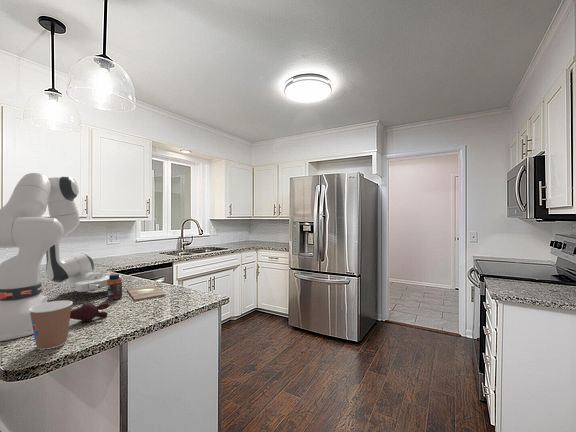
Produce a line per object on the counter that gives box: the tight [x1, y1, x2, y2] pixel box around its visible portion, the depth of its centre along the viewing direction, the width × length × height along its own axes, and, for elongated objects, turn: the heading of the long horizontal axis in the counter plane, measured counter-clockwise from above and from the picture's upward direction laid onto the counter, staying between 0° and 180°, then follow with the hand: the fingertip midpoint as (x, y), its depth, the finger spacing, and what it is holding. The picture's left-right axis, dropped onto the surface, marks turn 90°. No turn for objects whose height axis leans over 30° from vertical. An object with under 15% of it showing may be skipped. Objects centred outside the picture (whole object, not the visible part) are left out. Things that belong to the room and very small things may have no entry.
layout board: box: [126, 284, 166, 302], centre depth 141 cm, size 22×13×1 cm, turn 38°
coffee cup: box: [29, 299, 74, 351], centre depth 86 cm, size 10×10×12 cm
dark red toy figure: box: [70, 302, 110, 324], centre depth 105 cm, size 7×7×15 cm
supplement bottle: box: [106, 273, 123, 301], centre depth 133 cm, size 6×6×11 cm
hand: (108, 284), depth 135 cm, fingers open, 8 cm apart
